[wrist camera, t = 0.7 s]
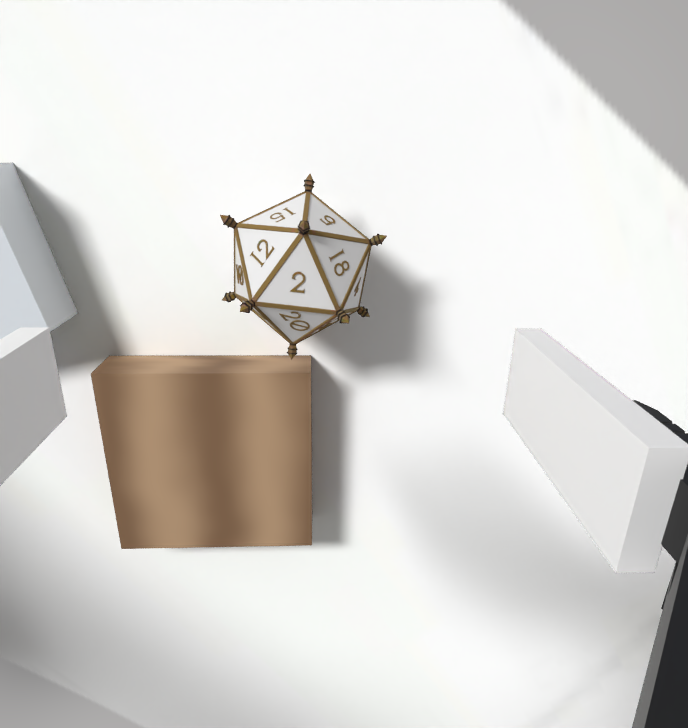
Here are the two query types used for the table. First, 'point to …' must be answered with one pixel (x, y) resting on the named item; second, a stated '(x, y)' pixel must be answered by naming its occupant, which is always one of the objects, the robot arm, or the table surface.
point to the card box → (27, 264)
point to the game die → (299, 266)
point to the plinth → (208, 449)
